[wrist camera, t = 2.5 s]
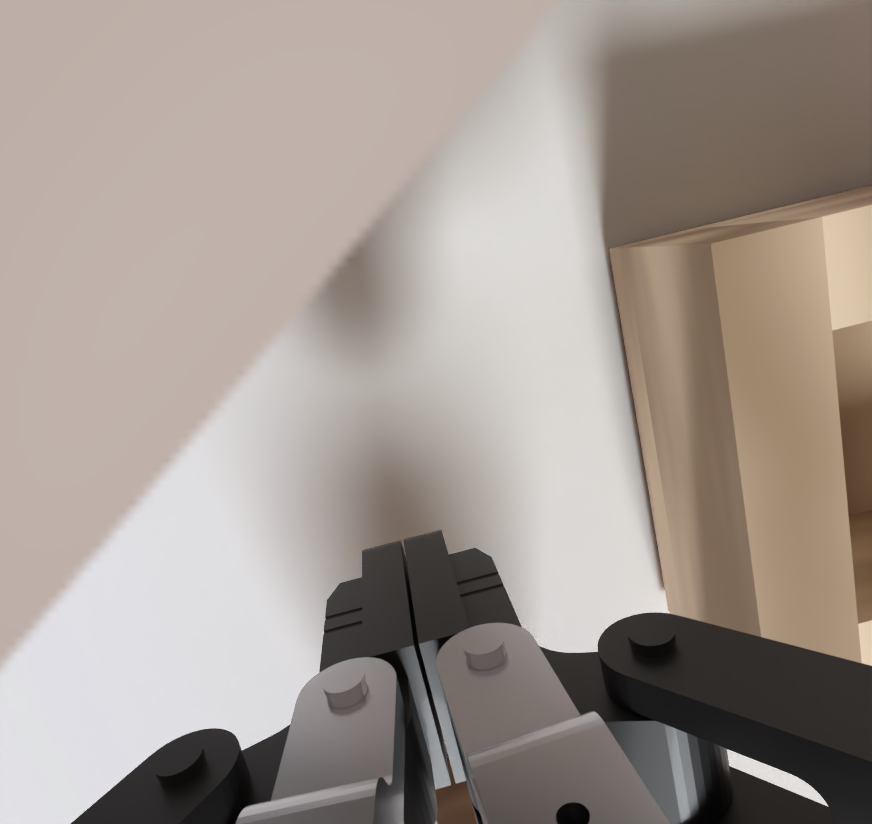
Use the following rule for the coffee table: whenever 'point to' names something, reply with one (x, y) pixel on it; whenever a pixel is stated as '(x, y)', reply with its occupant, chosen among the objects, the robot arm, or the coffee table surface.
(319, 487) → the coffee table surface
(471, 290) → the coffee table surface
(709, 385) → the socket block
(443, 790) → the dowel
